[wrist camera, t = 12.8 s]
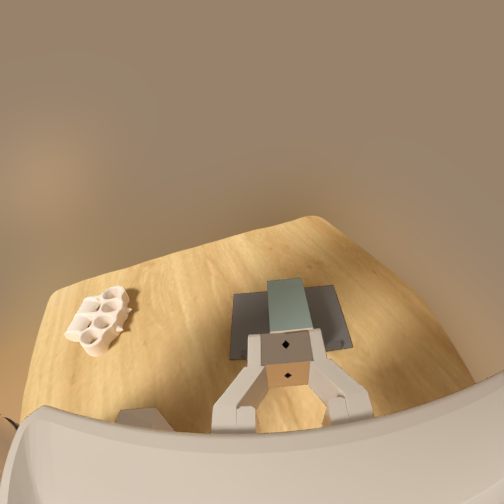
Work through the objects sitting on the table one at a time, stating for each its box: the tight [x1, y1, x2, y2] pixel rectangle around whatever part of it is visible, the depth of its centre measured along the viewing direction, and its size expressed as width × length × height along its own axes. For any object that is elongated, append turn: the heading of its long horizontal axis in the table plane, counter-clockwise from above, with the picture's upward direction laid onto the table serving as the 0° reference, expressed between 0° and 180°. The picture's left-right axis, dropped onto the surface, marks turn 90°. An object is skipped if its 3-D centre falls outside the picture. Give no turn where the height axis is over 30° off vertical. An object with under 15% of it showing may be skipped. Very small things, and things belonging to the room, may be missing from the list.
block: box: [267, 278, 313, 333], centre depth 44 cm, size 6×6×14 cm
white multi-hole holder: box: [65, 286, 132, 356], centre depth 52 cm, size 3×18×15 cm
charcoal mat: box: [230, 285, 353, 360], centre depth 49 cm, size 20×16×1 cm
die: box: [115, 407, 175, 431], centre depth 28 cm, size 8×9×10 cm
